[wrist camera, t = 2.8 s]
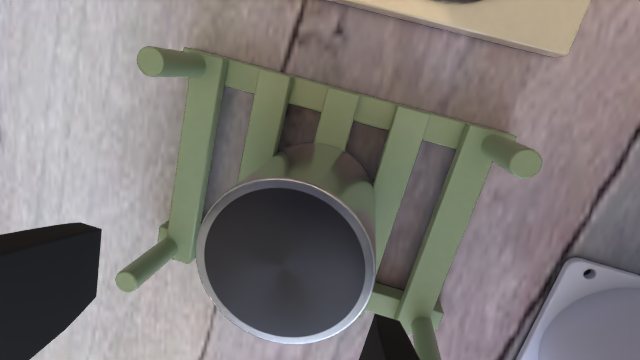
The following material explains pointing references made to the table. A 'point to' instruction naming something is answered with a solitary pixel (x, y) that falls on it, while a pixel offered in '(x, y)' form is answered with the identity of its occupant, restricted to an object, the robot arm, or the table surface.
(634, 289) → the robot arm
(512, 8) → the hob
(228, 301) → the pot
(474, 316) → the table surface
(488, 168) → the rack
